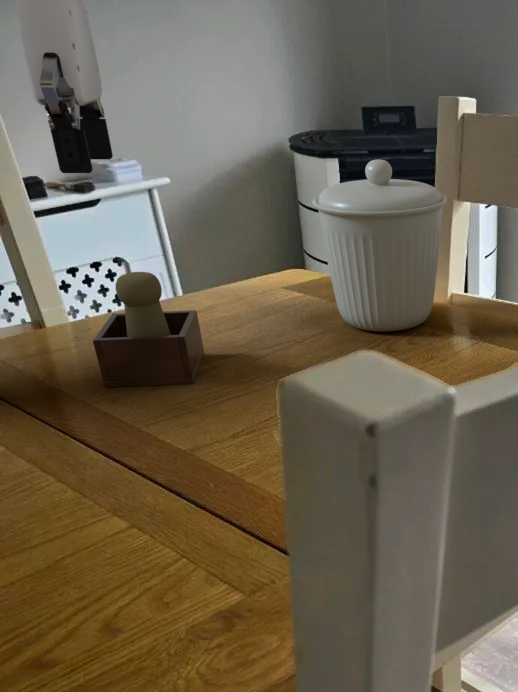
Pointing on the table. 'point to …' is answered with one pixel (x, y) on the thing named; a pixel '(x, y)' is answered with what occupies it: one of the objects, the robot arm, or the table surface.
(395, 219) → the canister
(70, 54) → the robot arm
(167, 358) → the box
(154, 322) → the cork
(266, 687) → the table surface
